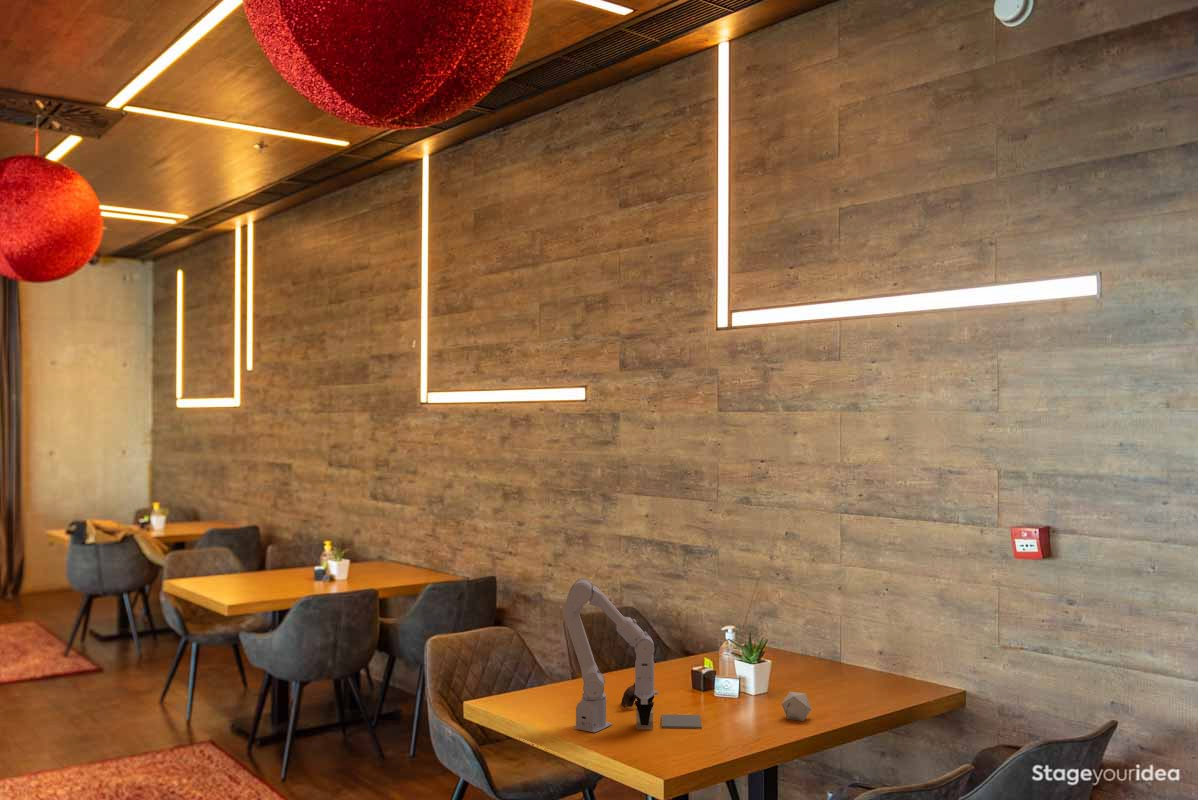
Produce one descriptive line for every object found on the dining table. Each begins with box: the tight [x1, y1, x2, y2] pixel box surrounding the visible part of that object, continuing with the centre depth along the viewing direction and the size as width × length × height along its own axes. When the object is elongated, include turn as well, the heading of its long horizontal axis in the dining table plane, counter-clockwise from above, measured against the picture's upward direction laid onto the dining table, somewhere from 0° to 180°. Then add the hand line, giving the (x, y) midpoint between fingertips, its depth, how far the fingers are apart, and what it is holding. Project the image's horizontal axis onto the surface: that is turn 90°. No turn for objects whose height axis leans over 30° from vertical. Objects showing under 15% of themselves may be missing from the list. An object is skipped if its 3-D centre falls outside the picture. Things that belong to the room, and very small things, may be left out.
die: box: [781, 691, 813, 722], centre depth 307 cm, size 8×9×10 cm
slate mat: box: [661, 714, 703, 730], centre depth 303 cm, size 12×12×1 cm
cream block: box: [635, 707, 654, 731], centre depth 299 cm, size 5×5×5 cm
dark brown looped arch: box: [620, 682, 637, 709], centre depth 320 cm, size 12×10×8 cm
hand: (644, 722), depth 299 cm, fingers closed on cream block, 5 cm apart
